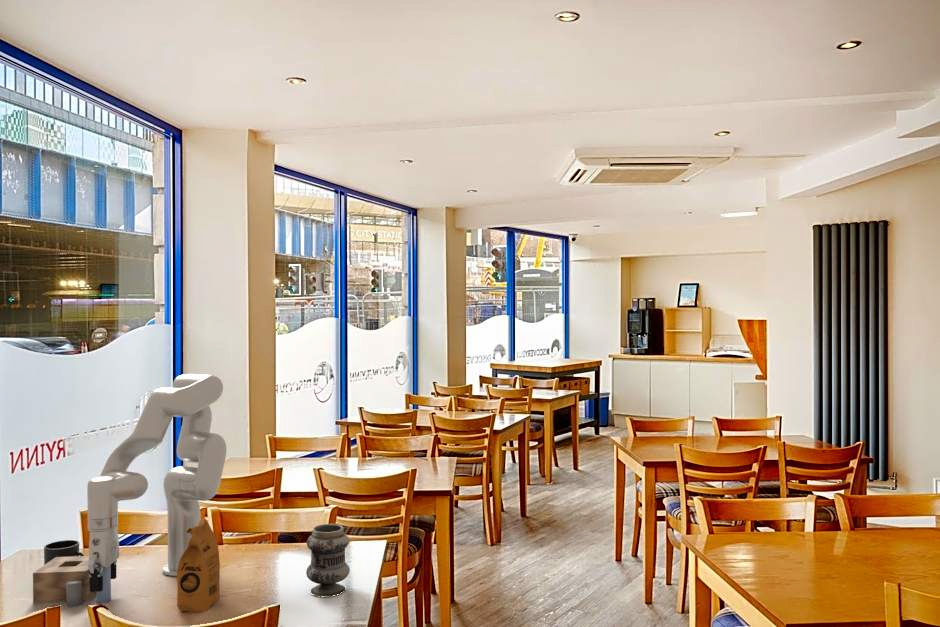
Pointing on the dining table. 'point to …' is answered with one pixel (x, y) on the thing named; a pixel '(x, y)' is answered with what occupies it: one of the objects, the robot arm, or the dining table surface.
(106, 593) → the tall pin
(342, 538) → the apothecary jar
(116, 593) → the dining table surface
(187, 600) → the coffee package
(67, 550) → the mug
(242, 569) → the dining table surface
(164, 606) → the dining table surface
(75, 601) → the short pin
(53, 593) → the hole block
